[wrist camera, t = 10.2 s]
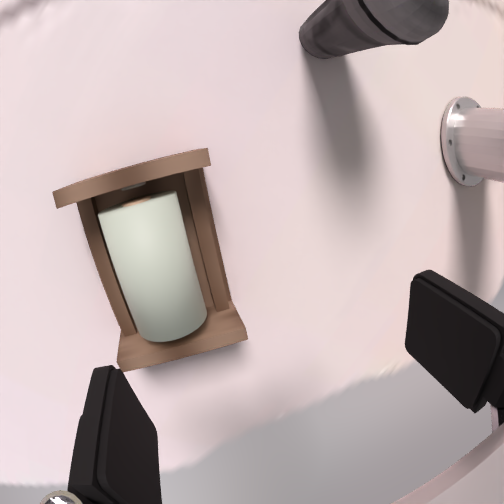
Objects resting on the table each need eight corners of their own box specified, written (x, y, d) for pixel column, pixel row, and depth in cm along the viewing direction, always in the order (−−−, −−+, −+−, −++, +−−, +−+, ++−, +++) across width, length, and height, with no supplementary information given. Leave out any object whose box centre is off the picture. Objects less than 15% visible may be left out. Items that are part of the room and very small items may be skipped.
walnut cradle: (197, 149, 25) (207, 147, 20) (231, 306, 31) (248, 339, 25) (74, 183, 23) (52, 191, 17) (126, 334, 28) (122, 372, 23)
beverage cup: (322, 85, 26) (510, 46, 8) (269, 31, 23) (422, -81, 5) (362, 48, 26) (527, 6, 8) (316, -3, 23) (461, -89, 5)
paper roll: (106, 204, 23) (88, 220, 18) (175, 185, 24) (176, 195, 19) (141, 312, 27) (136, 350, 22) (203, 296, 28) (211, 332, 23)
